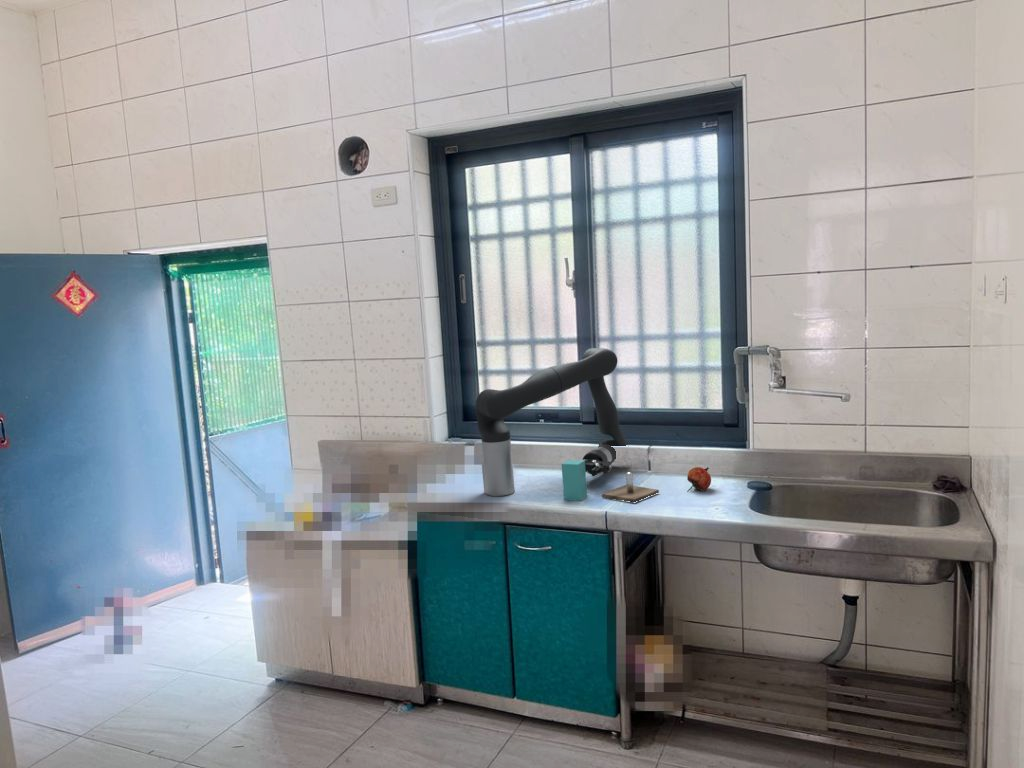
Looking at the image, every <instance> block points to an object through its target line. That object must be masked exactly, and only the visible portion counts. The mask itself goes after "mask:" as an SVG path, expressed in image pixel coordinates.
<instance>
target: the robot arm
mask: <svg viewBox="0 0 1024 768" xmlns="http://www.w3.org/2000/svg"><path fill="white" fill-rule="evenodd" d="M617 366H618V356H617V354H616V353H615V352H614V351H613V350H610V349H609V348H604V347H603V348H602V347H601V348H600V347H594V348H593V347H590V348H588V349H587V350H585V352H584V353H583V355H582V357H581V360H577V361H573V362H566V363H562V364H561V363H560V364H556V365H553V366H549V367H547V368H544V369H541V370H540V371H537V372H535V373H533V374H532V375H531V376H529V377H528V378H527V379H526V380H525V381H523V382H522V383H520V384H518V385H515V386H513V387H509V388H504V389H502V390H501V389H500V390H499V389H492V388H487V389H484V390H482V391H480V393H478V394H477V397H476V399H475V414H476V421H477V422H476V423H477V428H478V432H479V435H480V439H481V448H482V458H483V462H482V463H481V470H482V479H483V480H482V483H483V493H485V494H486V495H488V496H492V497H501V496H508V495H511V494H513V493H515V491H516V490H515V489H516V488H515V475H514V466H513V464H514V462H513V454H512V452H513V451H512V442H511V440H512V439H511V431H510V429H509V428H508V426H507V425H506V423H505V420H504V419H505V418H507V417H509V416H511V415H513V414H514V413H516V412H518V411H519V410H522V409H523V408H526V407H528V406H531V405H533V404H536V403H539V402H542V401H544V400H547V399H550V398H552V397H554V396H556V395H560V394H562V393H564V392H565V391H568V390H570V389H573V388H575V387H577V386H579V385H581V384H582V383H585V382H587V383H588V387H589V389H590V393H591V396H592V398H593V402H594V406H595V412H596V416H597V423H598V428H599V432H600V433H601V434H602V435H605V436H610V437H612V439H603V440H601V441H599V443H598V445H599V446H598V445H597V448H593V449H592V450H590V451H588V452H587V453H586V454H585V455H583V457H582V459H581V460H585V471H586V473H587V474H589V475H591V476H592V477H596V476H598V475H601V474H602V473H603V474H605V475H607V474H608V473H610V471H612V464H613V463H614V462H615V461H616V460H615V459H616V451H615V449H614V448H613V447H611V446H626V445H628V446H629V444H628V442H627V440H626V438H625V436H624V434H623V432H622V428H621V426H620V420H619V415H618V410H617V405H616V404H615V402H614V400H613V398H612V396H611V395H610V392H609V390H608V388H607V385H606V382H605V376H608V375H610V374H611V373H613V372H614V371H615V369H616V367H617Z"/></svg>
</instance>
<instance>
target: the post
mask: <svg viewBox="0 0 1024 768" xmlns="http://www.w3.org/2000/svg"><path fill="white" fill-rule="evenodd" d="M633 478H634V476H633V473H632V472H630V471H628V472H626V473H625V482H626V483H625V485H626V486H627V492H628V493H632V492H634V490H633V486H634V479H633Z"/></svg>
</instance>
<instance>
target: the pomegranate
mask: <svg viewBox="0 0 1024 768" xmlns="http://www.w3.org/2000/svg"><path fill="white" fill-rule="evenodd" d="M709 469H710V468H709V467H708V466H707V467H706V468H703V467H699V466H698V467H695V466H694V467H692V468H691V469H690V470H689V471H688V472H687V482H689V483H690V484H691V486H690V488H689V489H688V490H687V491H686V493H689V492H690V490H692V489H693V488H694V489H696V490H700V491H706V490H707V489H709V487H710V486H711V483H712V477H711V474H710V473H709V472H708V470H709Z"/></svg>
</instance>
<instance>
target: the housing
mask: <svg viewBox="0 0 1024 768" xmlns="http://www.w3.org/2000/svg"><path fill="white" fill-rule="evenodd" d="M561 473H562V474H561V475H562V477H561V478H562V488H563V500H564V501H565V500H566V501H567V500H568V501H579V500H581V501H582V500H583V498H584V497H585V498H586V497H587V496H588V488H587V474H586V473H587V472H586V471H585V460H582V459H568V460H565V461H564V462H562V463H561ZM585 498H584V499H585Z"/></svg>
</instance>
